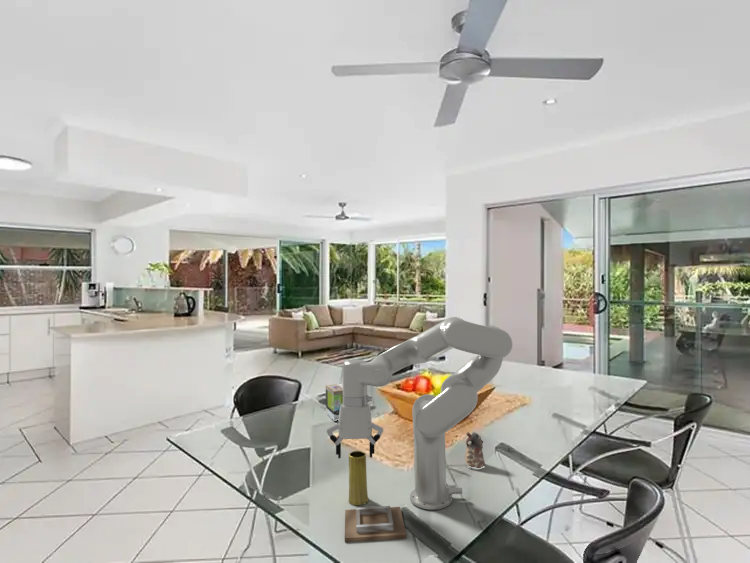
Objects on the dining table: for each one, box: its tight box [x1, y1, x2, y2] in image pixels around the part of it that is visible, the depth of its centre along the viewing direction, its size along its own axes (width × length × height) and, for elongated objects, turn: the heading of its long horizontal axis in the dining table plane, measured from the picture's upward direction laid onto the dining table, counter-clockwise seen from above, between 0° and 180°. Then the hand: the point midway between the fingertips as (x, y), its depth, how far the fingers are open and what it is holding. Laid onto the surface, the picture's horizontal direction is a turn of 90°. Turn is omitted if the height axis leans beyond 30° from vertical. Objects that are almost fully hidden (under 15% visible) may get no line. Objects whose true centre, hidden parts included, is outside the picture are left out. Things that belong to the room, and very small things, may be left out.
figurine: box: [464, 431, 486, 468], centre depth 157 cm, size 7×7×12 cm
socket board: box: [344, 505, 407, 543], centre depth 121 cm, size 16×14×2 cm
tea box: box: [325, 383, 343, 421], centre depth 218 cm, size 15×10×15 cm
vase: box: [348, 450, 370, 506], centre depth 135 cm, size 6×6×14 cm
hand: (355, 456), depth 135 cm, fingers open, 9 cm apart
